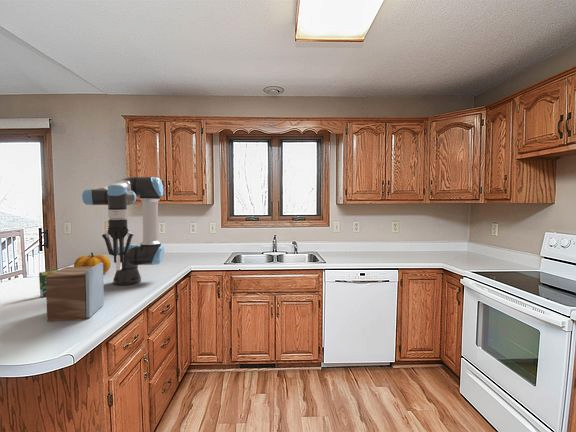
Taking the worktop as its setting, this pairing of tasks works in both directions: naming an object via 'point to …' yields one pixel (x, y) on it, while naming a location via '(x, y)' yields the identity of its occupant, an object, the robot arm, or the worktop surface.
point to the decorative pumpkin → (93, 261)
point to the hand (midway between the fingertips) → (119, 269)
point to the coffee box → (44, 281)
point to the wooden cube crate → (66, 294)
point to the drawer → (94, 289)
